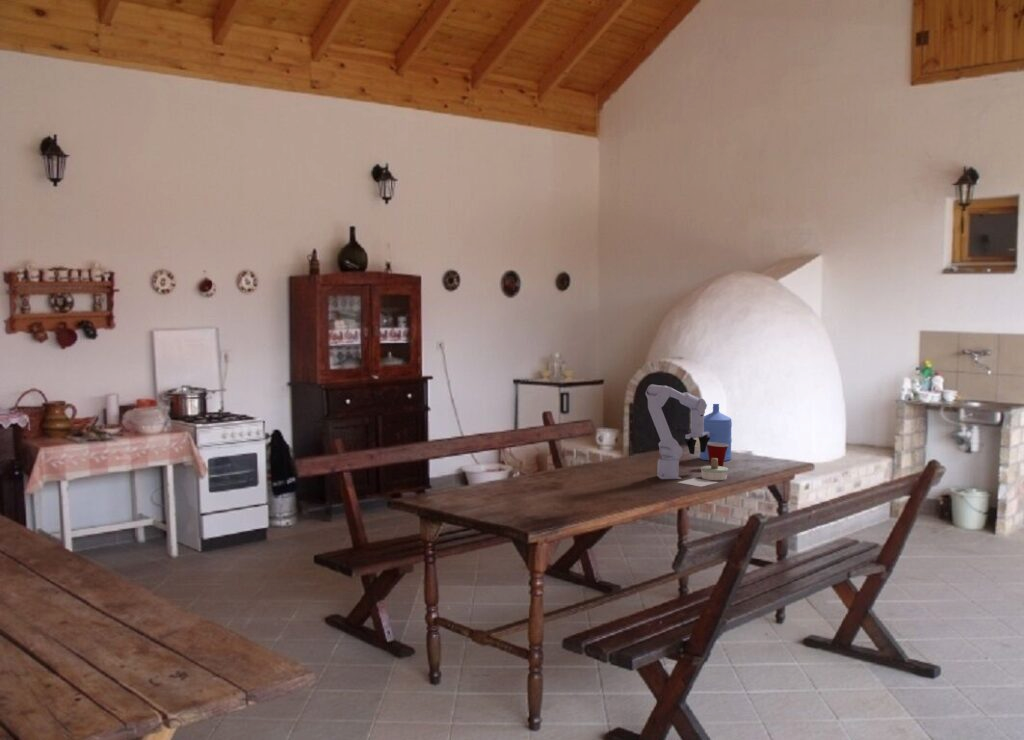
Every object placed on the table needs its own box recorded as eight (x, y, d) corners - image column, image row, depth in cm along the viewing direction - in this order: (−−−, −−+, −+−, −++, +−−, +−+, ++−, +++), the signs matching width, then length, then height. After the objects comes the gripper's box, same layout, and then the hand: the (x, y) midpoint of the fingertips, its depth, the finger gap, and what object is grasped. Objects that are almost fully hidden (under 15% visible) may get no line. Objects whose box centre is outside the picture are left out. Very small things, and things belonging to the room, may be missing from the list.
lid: (704, 474, 412) (704, 461, 412) (697, 469, 425) (697, 456, 424) (732, 474, 413) (732, 460, 413) (723, 469, 426) (724, 455, 425)
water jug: (726, 456, 477) (726, 402, 475) (735, 461, 462) (735, 405, 460) (696, 456, 476) (696, 402, 474) (704, 462, 461) (705, 406, 459)
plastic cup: (730, 469, 440) (731, 444, 439) (707, 469, 441) (708, 445, 440) (725, 465, 451) (726, 441, 450) (703, 465, 451) (703, 441, 450)
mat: (701, 487, 401) (701, 486, 401) (676, 483, 410) (676, 482, 410) (718, 483, 409) (718, 482, 409) (694, 479, 419) (694, 478, 419)
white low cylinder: (705, 481, 414) (705, 472, 413) (698, 476, 425) (699, 468, 424) (729, 480, 414) (729, 472, 414) (722, 476, 425) (722, 467, 425)
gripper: (693, 426, 421) (693, 455, 423) (714, 423, 430) (714, 452, 431) (681, 424, 427) (681, 453, 428) (702, 421, 436) (702, 450, 437)
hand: (697, 452), depth 430 cm, fingers open, 7 cm apart
